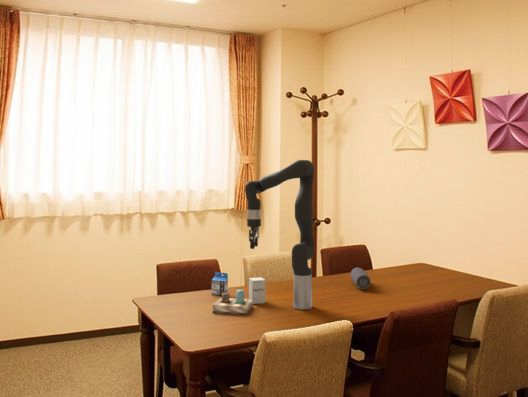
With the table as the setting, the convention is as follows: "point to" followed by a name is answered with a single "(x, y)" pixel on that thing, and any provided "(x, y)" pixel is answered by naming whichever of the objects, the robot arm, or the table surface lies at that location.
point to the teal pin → (240, 297)
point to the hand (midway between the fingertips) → (254, 247)
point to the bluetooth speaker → (360, 278)
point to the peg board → (232, 305)
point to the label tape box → (220, 284)
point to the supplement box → (257, 290)
